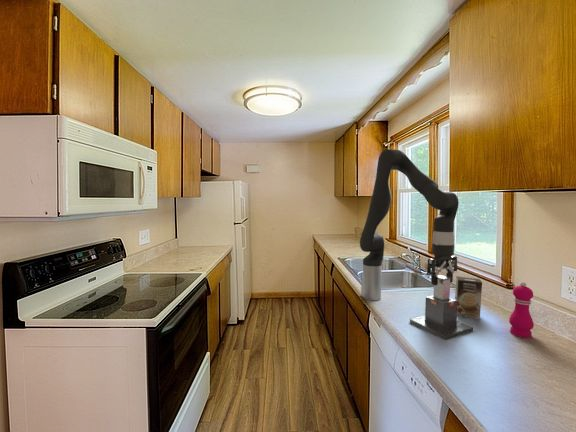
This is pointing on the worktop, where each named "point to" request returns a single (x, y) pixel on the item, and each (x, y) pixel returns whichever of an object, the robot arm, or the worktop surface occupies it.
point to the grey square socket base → (441, 319)
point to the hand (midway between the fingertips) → (442, 283)
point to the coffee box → (468, 297)
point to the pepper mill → (521, 312)
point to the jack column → (442, 288)
